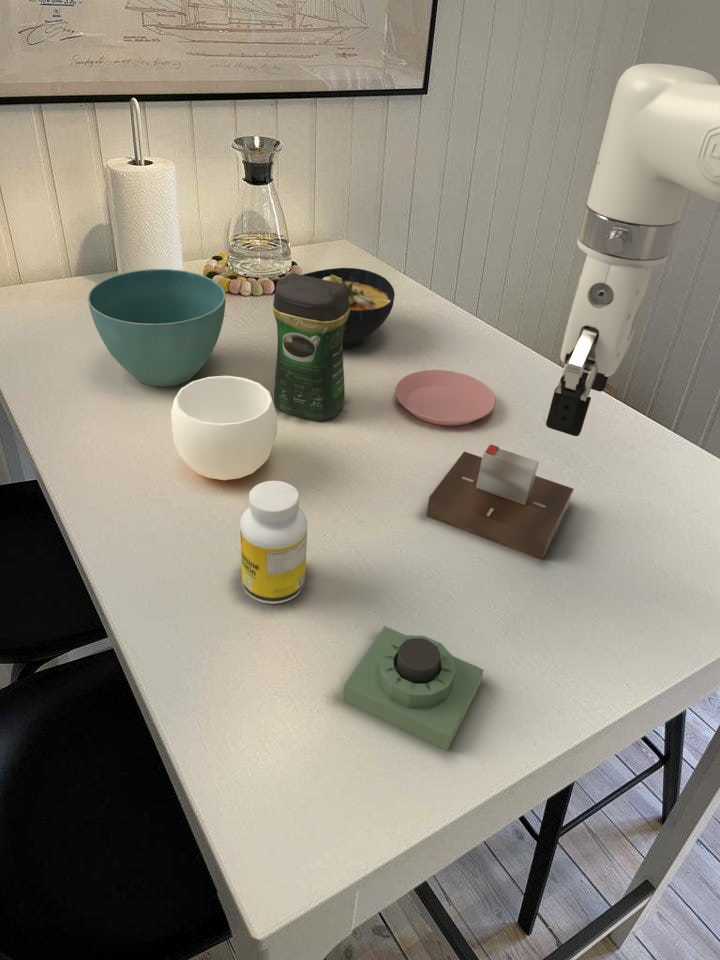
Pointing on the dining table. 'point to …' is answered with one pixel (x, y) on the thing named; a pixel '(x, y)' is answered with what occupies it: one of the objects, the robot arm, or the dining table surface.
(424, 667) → the button
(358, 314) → the bowl
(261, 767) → the dining table surface
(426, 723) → the switch block
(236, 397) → the cup
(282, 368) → the coffee jar
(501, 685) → the dining table surface
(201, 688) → the dining table surface
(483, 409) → the plate
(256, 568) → the pill bottle
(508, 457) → the red-tipped white block
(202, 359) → the teal mixing bowl
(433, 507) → the brown dial block
